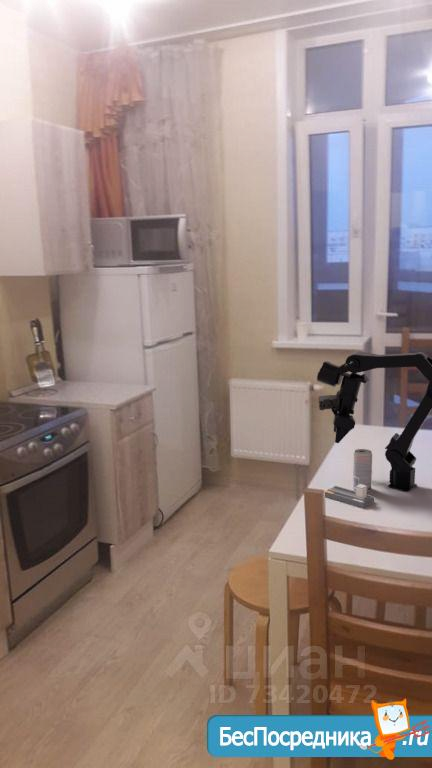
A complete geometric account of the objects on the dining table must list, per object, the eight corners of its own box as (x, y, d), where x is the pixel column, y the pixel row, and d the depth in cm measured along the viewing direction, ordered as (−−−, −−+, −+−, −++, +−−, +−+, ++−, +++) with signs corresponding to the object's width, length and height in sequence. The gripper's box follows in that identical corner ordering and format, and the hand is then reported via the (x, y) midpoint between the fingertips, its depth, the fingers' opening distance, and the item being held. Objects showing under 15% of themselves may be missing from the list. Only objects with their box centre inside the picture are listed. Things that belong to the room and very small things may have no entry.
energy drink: (368, 486, 187) (369, 448, 184) (373, 492, 182) (374, 454, 179) (351, 486, 187) (351, 449, 184) (355, 493, 181) (356, 454, 179)
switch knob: (366, 497, 174) (366, 485, 173) (362, 499, 172) (362, 488, 172) (360, 495, 176) (360, 483, 175) (355, 497, 174) (355, 486, 173)
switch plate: (374, 501, 175) (374, 494, 174) (363, 508, 171) (363, 501, 170) (335, 490, 184) (335, 484, 183) (324, 496, 179) (324, 489, 179)
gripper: (322, 377, 198) (310, 421, 203) (324, 395, 180) (311, 442, 185) (356, 385, 197) (343, 428, 202) (361, 403, 179) (347, 451, 184)
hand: (336, 437), depth 193 cm, fingers open, 9 cm apart
